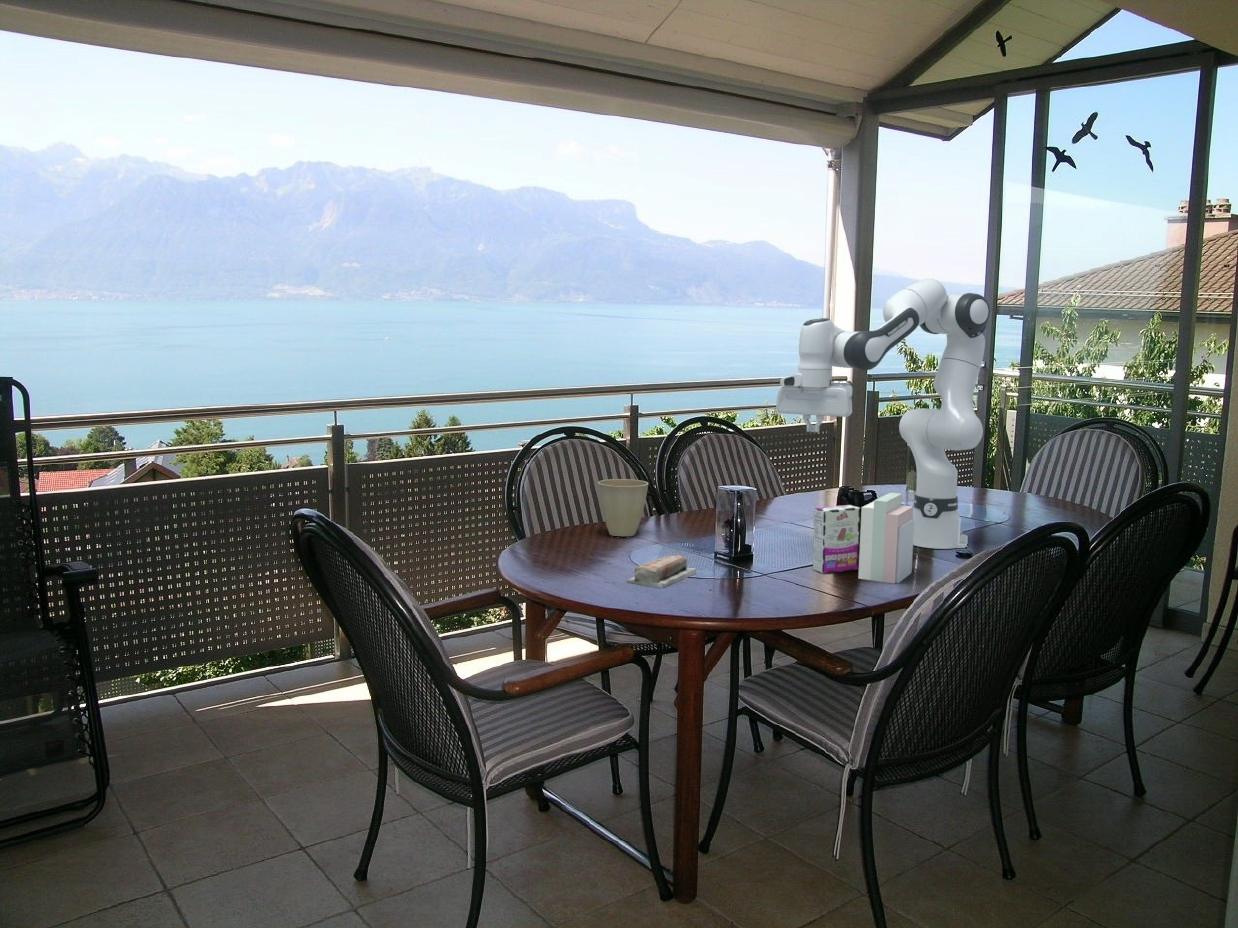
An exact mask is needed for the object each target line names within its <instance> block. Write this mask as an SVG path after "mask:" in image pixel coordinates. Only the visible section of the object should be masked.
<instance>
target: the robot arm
mask: <svg viewBox="0 0 1238 928" xmlns="http://www.w3.org/2000/svg"><path fill="white" fill-rule="evenodd" d="M990 312H991V311H990V306H989V302H988V300H987V299H986V297H985V296H984V295H981V294H978V293H972V292H967V293H950V294H948V293H947V290H946V288H945V285H943V283H942V282H940V281H939V280H937V279H934V278H925V279H922V280H919V281H917V282H914V283H912V284H909V285H908V286H906V287H904V288H903V289H900V290H899V291H897V292H896V293H894V294H893V295H891V296H890V297H889V298H888V299H887V300H886V301H885V302H884V304H883V309H882V316H883V320H884V322H885V323H883V324H882V325H881V326H878V328H876V329H874V330H863V331H846V330H844V329H842V328H840V327H838V326H837V325H835V324H834V323H833V322H832V319H830V318H828V317H827V318H826V317H823V318H822V317H820V318H814V319H809V320H807V321H806V320H805V322H803V324H802V326H801V330H800V333H799V339H798V340H799V342H798V343H799V344H798V355H799V364H798V370H797V372H798V373H794V374H791V375H788V376H786V377H783V378H781V379H780V380H779V381H780V382H779V384H780V386H781V387H779V390H778V391H777V394H776V395H777V396H776V403H775V404H776V406H775V409H776V411H777V413H778V414H790V415H802V420H803V422H804V424H805V426H806V432H807V433H820V426H821V425H822V423H823V422H824V419H825V416H826V417H841V418H842V417H844V418H847V417H850V416H851V415H852V413H853V401H852V397H853V392H854V391H853V390H854V389H853V385H852V384H851V383H849V382H848V381H846V380H844V381H843V380H842V381H839V380H832V379H833V367H836V368H844V369H845V368H846V369H856V370H861V371H870V370H872V369H874V368H876V367H877V366H878V365H879V364H880V363H881V362H882V361H883V359H884V358H885V355H886V354H887V353H888V352H889V351H890V350H891V349H892V348H894V347H895V346H896V345H897V344H899V343H900V342H901V341H903V340H904V339H906V338H908V336H910V334H912V333H913V332H914V331H915V330H916V329H917V328H918V327H920V328H921V330H922V331H923V332H926V333H928V334H932V335H940V334H942V335H946V345H945V348H944V350H943V352H942V356H941V358H940V361H939V365H938V368H937V370H936V373H935V377H934V381H933V388H934V389H933V390H935V392H936V393H937V395H939V396H940V397H941V405H940V408H939V409H936V408H935V409H934V408H925V407H924V408H923V407H922V408H913V409H910V410H908V411H906V412H904V414H903V415H902V416H901V418H900V421H899V425H898V427H899V428H898V429H899V434H900V437H901V438H902V439H903V440H904V441H905V442H906V443H907V444H908V447H909V448H910V450H911V452H912V455H913V458H914V462H915V467H916V485H915V486H916V489H915V490H916V492H915V494H914V498H913V519H914V535H913V546H916V547H921V548H927V549H938V550H939V549H940V550H946V549H947V550H948V549H949V550H951V549H966V548H965V547H967V548H968V546H967V544H968V543H969V542H968V540H969V538H968V537H969V536H968V535H967V534H964V530H963V529H961V525H962V518H961V516H960V514H959V512H958V509H959V506H958V505H959V499H958V495H957V490H958V476H959V475H958V474H959V473H958V470H957V468H956V466H955V465H954V464H953V463H952V462H951V461H950V460H949V459H948V457H947V454H946V451H945V450H948V451H949V450H950V451H965V450H972V449H974V448H976V447H977V446H978V445H979V443H981V440H982V437H983V434H984V428H983V425H982V422H981V419H980V418H979V417H978V416H977V414H976V412H975V408H974V402H973V401H974V399H973V398H974V392H975V388H976V384H977V381H978V377H979V374H980V370H981V367H982V363H983V360H984V354H985V347H986V338H985V336H984V334H983V333H984V331H985V330H986V329H987V328H986V327H987V324H988V322H989V319H990ZM811 416H816V417H815V420H816V421H817V422H815V424H812V422H811V421H810V419H811Z"/></svg>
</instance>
